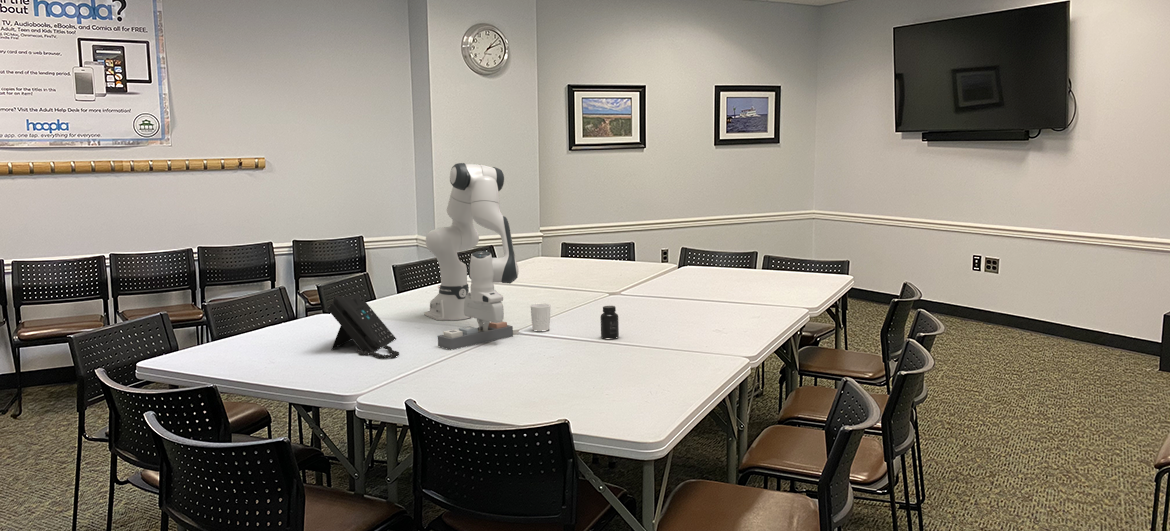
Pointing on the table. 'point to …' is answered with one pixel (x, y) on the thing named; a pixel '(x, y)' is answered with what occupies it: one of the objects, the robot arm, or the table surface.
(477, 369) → the table surface
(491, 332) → the dark grey holder tray
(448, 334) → the key
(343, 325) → the office phone
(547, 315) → the white cup
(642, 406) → the table surface
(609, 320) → the supplement bottle
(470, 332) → the key
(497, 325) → the key
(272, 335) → the table surface
